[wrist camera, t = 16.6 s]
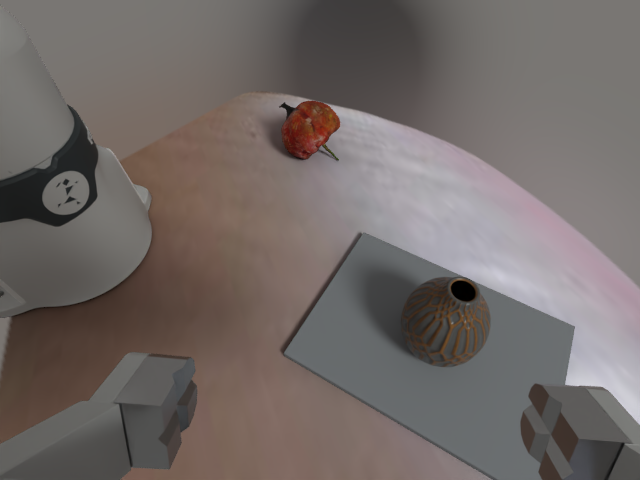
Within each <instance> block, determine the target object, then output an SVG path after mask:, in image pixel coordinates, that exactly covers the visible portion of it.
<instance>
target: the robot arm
mask: <svg viewBox="0 0 640 480" xmlns="http://www.w3.org/2000/svg"><path fill="white" fill-rule="evenodd" d="M150 203H151V194H150V193H149V191H148V190H147V189H146V188H145V187H142V186H139V185H135V184H133V183H132V182H131V180H130V178H129V177H128V175H127V173H126V172H125V170H124V169H123V167H122V165H121V164H120V162H119V160H118V159H117V157H116V156H115V154H114V153H113V152H112V151H111V150H110V149H109V148H104V147H102V146H99V145H96V144H95V143H94V141H93V139H92V135H91V133H90V131H89V129H88V128H87V126H86V124H85V123H84V122H83V120H81V118H80V117H79V115H78V113H77V112H76V111H75V110H74V109H73V108H72V107H71V106H69V105H67V104H66V102H65V101H64V99H63V97H62V95H61V93H60V92H59V90H58V88H57V86H56V84H55V82H54V81H53V79H52V77H51V75H50V73H49V72H48V70H47V68H46V66H45V64H44V63H43V61H42V59H41V57H40V55H39V54H38V52H37V50H36V48H35V46H34V45H33V43H32V41H31V39H30V38H29V35H28V34H27V32H26V30H25V29H24V27H23V26H22V25H21V24H20V23H19V21H18V20H17V19H16V18H15V17H14V16H13V15H12V14H11V13H10V12H8V11H7V10H6V9H5V8H3V7H2V6H1V5H0V318H5V317H10V316H14V315H17V314H20V313H23V312H26V311H28V310H31V309H34V308H39V307H54V306H65V305H71V304H76V303H80V302H83V301H86V300H89V299H92V298H94V297H96V296H99V295H101V294H103V293H105V292H107V291H108V290H110V289H112V288H113V287H115V286H116V285H118V284H119V283H121V282H122V281H123V280H124V279H126V278H127V277H128V276H129V275H130V274H131V273H132V272H133V271H134V270H135V269H136V268H137V267H138V265H139V264H140V263H141V261H142V260H143V258H144V257H145V255H146V253H147V251H148V249H149V246H150V243H151V237H152V228H151V223H150V220H149V217H148V210H149V207H150ZM2 295H3V296H2ZM1 296H2V297H1ZM194 373H195V364H194V360H193V359H192V358H191V357H182V356H172V355H162V354H148V353H138V352H130V353H128V354H126V355H125V356H124V357H123V359H122V360H121V361H120V362H119V363H118V365H117V366H116V367H115V368H114V370H113V371H112V372H111V373H110V375H109V376H108V377H107V378H106V379H105V381H104V382H103V383H102V384H101V386H100V387H99V388H98V389H97V390H96V392H95V393H94V394H93V395H92V397H91V398H90V399H89V400H88V401H80V402H78V403H76V404H74V405H72V406H71V407H69V408H67V409H65V410H63V411H61V412H59V413H57V414H56V415H54V416H52V417H50V418H48V419H46V420H44V421H42V422H41V423H39V424H37V425H35V426H33V427H31V428H29V429H27V430H26V431H24V432H22V433H20V434H18V435H16V436H14V437H12V438H11V439H9V440H7V441H5V442H3V443H1V444H0V480H120V479H121V478H122V477H123V476H125V475H126V474H127V473H128V472H129V471H130V470H131V467H133V468H152V469H170V468H171V465H172V463H173V461H174V459H175V457H176V454H177V452H178V450H179V448H180V446H181V443H182V442H181V432H182V431H184V430H185V429H186V428H188V427H189V425H190V423H191V421H192V418H193V416H194V412H195V408H196V404H197V385H196V384H195V383H194V382H193V381H192V380H191V379H192V377H193V375H194ZM528 397H529V399H530V401H531V402H532V404H531V405H530V406H529V407H528V408H526V409H525V410H524V411H523V414H522V417H521V421H520V426H521V436H522V439H523V443H524V445H525V447H526V449H527V451H528V453H529V454H530V455H531V456H532V457H533V458H534V459H536V460H537V461H538V462H539V463H540V467H539V471H538V473H539V475H540V477H541V479H542V480H640V425H639V424H638V423H637V422H636V421H635V420H634V419H633V417H632V416H631V415H630V414H629V413H628V412H627V411H626V410H625V408H624V407H623V406H622V405H621V404H620V403H619V402H618V401H617V399H616V398H615V397H614V396H613V395H612V394H611V393H610V392H609V391H608V390H606V389H605V388H603V387H594V386H569V385H554V384H540V383H535V384H534V385H533V386H532V387H531V389H530V392H529V395H528Z"/></svg>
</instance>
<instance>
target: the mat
mask: <svg viewBox="0 0 640 480" xmlns="http://www.w3.org/2000/svg"><path fill="white" fill-rule="evenodd" d="M438 277H453V278H454V277H463V276H460V275H458V274H456V273H454V272H451V271H449V270H447V269H445V268H442V267H440V266H438V265H436V264H434V263H431V262H429V261H427V260H425V259H422V258H420V257H418V256H416V255H413V254H411V253H409V252H407V251H404V250H402V249H400V248H398V247H396V246H393V245H391V244H389V243H387V242H384V241H382V240H380V239H378V238H375V237H373V236H371V235H369V234H366V233H363V234H362V236H361V237H360V239H359V240H358V242H357V243H356V245H355V246H354V248H353V249H352V251H351V252H350V254H349V255H348V257H347V258H346V260H345V261H344V263H343V264H342V266H341V267H340V269H339V271H338V272H337V274H336V275H335V277H334V278H333V280H332V281H331V283H330V284H329V286H328V287H327V289H326V290H325V292H324V293H323V295H322V296H321V298H320V299H319V301H318V302H317V304H316V305H315V307H314V308H313V310H312V311H311V313H310V314H309V316H308V317H307V319H306V320H305V322H304V323H303V325H302V326H301V328H300V329H299V331H298V332H297V334H296V336H295V337H294V339H293V340H292V342H291V343H290V345H289V346H288V348H287V349H286V351H285V352H284V356H285V357H287V358H289V359H290V360H292V361H294V362H295V363H297V364H299V365H300V366H302V367H304V368H305V369H307V370H309V371H311V372H312V373H314V374H316V375H317V376H319V377H321V378H322V379H324V380H326V381H327V382H329V383H331V384H332V385H334V386H336V387H338V388H339V389H341V390H343V391H344V392H346V393H348V394H349V395H351V396H353V397H354V398H356V399H358V400H359V401H361V402H363V403H365V404H366V405H368V406H370V407H371V408H373V409H375V410H376V411H378V412H380V413H381V414H383V415H385V416H387V417H388V418H390V419H392V420H393V421H395V422H397V423H398V424H400V425H402V426H403V427H405V428H407V429H408V430H410V431H412V432H414V433H415V434H417V435H419V436H420V437H422V438H424V439H425V440H427V441H429V442H430V443H432V444H434V445H435V446H437V447H439V448H441V449H442V450H444V451H446V452H447V453H449V454H451V455H452V456H454V457H456V458H457V459H459V460H461V461H462V462H464V463H466V464H468V465H469V466H471V467H473V468H474V469H476V470H478V471H479V472H481V473H483V474H484V475H486V476H488V477H490V478H491V479H493V480H542V479H541V477H540V475H539V473H538V471H539V467H540V463H539V462H538V461H537V460H536V459H534V458H533V457H532V456H531V455H530V454H529V453H528V451H527V449H526V447H525V445H524V443H523V439H522V436H521V426H520V421H521V417H522V414H523V411H524V410H525V409H526V408H528V407H529V406H530V405H531V404H532V402H531V401H530V399H529V397H528V395H529V392H530V389H531V387H532V386H533V385H534V384H535V383H540V384H554V385H565V381H566V375H567V369H568V363H569V358H570V352H571V346H572V340H573V335H574V329H575V327H574V326H572V325H570V324H568V323H565V322H563V321H561V320H559V319H557V318H554V317H552V316H550V315H548V314H545V313H543V312H541V311H539V310H536V309H534V308H532V307H530V306H527V305H525V304H523V303H521V302H519V301H516V300H514V299H512V298H510V297H507V296H505V295H503V294H501V293H498V292H496V291H494V290H492V289H489V288H487V287H485V286H483V285H480V284H478V283H476V282H474V281H473V282H474V283H475V284H476V285H477V286H478V288H479V290H480V293H481V295H482V296H483V297H484V299H485V301H486V303H487V305H488V308H489V311H490V317H491V326H490V332H489V336H488V339H487V341H486V343H485V345H484V346H483V348H482V349H481V350H480V352H479V353H478V354H477V355H476V356H475V357H473V358H472V359H471V360H469V361H468V362H466V363H464V364H461V365H458V366H454V367H437V366H433V365H430V364H427V363H425V362H423V361H422V360H420V359H419V358H417V357H416V356H415V355H414V354H413V353H412V352H411V350H410V349H409V348H408V346H407V345H406V343H405V340H404V338H403V335H402V330H401V315H402V311H403V308H404V305H405V303H406V301H407V299H408V297H409V296H410V294H411V293H412V292H413V291H414V290H415V289H416V288H417V287H418V286H420V285H421V284H423V283H424V282H426V281H428V280H431V279H434V278H438Z"/></svg>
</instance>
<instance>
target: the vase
mask: <svg viewBox="0 0 640 480" xmlns="http://www.w3.org/2000/svg"><path fill="white" fill-rule="evenodd" d="M490 326H491V317H490V311H489V308H488V305H487V303H486V301H485V299H484V297H483V296H482V295H481V293H480V290H479V288H478V286H477V285H476V284H475V283H474V282H473V281H472V280H470V279H468V278H466V277H454V278H453V277H438V278H434V279H431V280H428V281H426V282H424V283H423V284H421V285H420V286H418V287H417V288H416V289H415V290H414V291H413V292H412V293H411V294H410V296H409V297H408V299H407V301H406V303H405V305H404V308H403V311H402V315H401V330H402V335H403V338H404V340H405V343H406V345H407V346H408V348H409V349H410V350H411V352H412V353H413V354H414V355H415V356H416V357H417V358H419V359H420V360H422V361H423V362H425V363H427V364H430V365H433V366H437V367H454V366H458V365H461V364H464V363H466V362H468V361H469V360H471V359H472V358H473V357H475V356H476V355H477V354H478V353H479V352H480V350H481V349H482V348H483V346H484V345H485V343H486V341H487V339H488V336H489V332H490Z"/></svg>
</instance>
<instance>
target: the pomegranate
mask: <svg viewBox="0 0 640 480" xmlns="http://www.w3.org/2000/svg"><path fill="white" fill-rule="evenodd" d="M280 107H283V108H285V109H286V110H287V118H286V121H285V123H284V124H283V126H282V129H281V132H282V140H283V143H284V145H285V148H286V149H287V150H288V152H289V153H290V154H292V155H293V156H295V157H299V158H302V159H308V158H309V157H310V156H311V155H312V154H314V153H315V152H317V151H318V149H319V147H320V146H321V145H322V146H323V147H324V148H325V149H326V150H327V151H328V152H330V153H331V154H332V155H333V156H334V157H335V158H336V159H337V160H339V159H338V158H337V157H336V156H335V155H334V154H333V153H332V152H331V151H330V150H329V149H328V148H327V146H326V145H325V143H326V142H327V141H328V139H329V137H330V136H331V134H332V133H334V132H335V131H336V130H337V129H338V128H339V127H340V120H339V118H338V116H337V115H336V113H335V112H334V111H333V110H332V109H331V108H330V107H329V106H328V105H327V104H324V103H321V102H316V101H306V102H303V103H301V104H299V105H298V106H297V107H296V108H293V107H290V106H288V105H286V104H285V102H284V103H283V104H282V105H281V106H280Z"/></svg>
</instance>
